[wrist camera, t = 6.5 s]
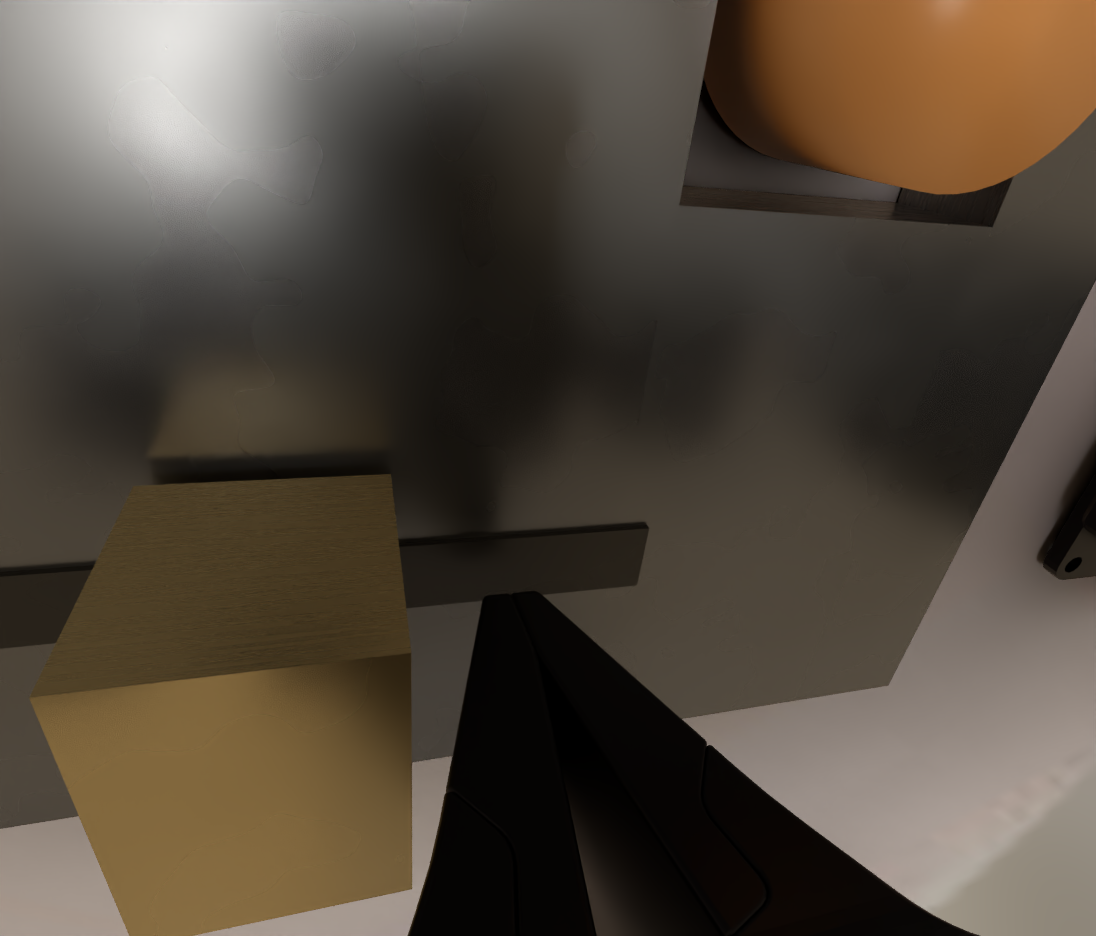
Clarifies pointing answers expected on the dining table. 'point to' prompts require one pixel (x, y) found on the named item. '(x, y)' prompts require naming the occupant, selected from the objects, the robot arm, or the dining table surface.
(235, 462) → the plate
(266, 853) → the tan block
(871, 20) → the orange push button
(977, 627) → the dining table surface
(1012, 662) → the dining table surface
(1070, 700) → the dining table surface
